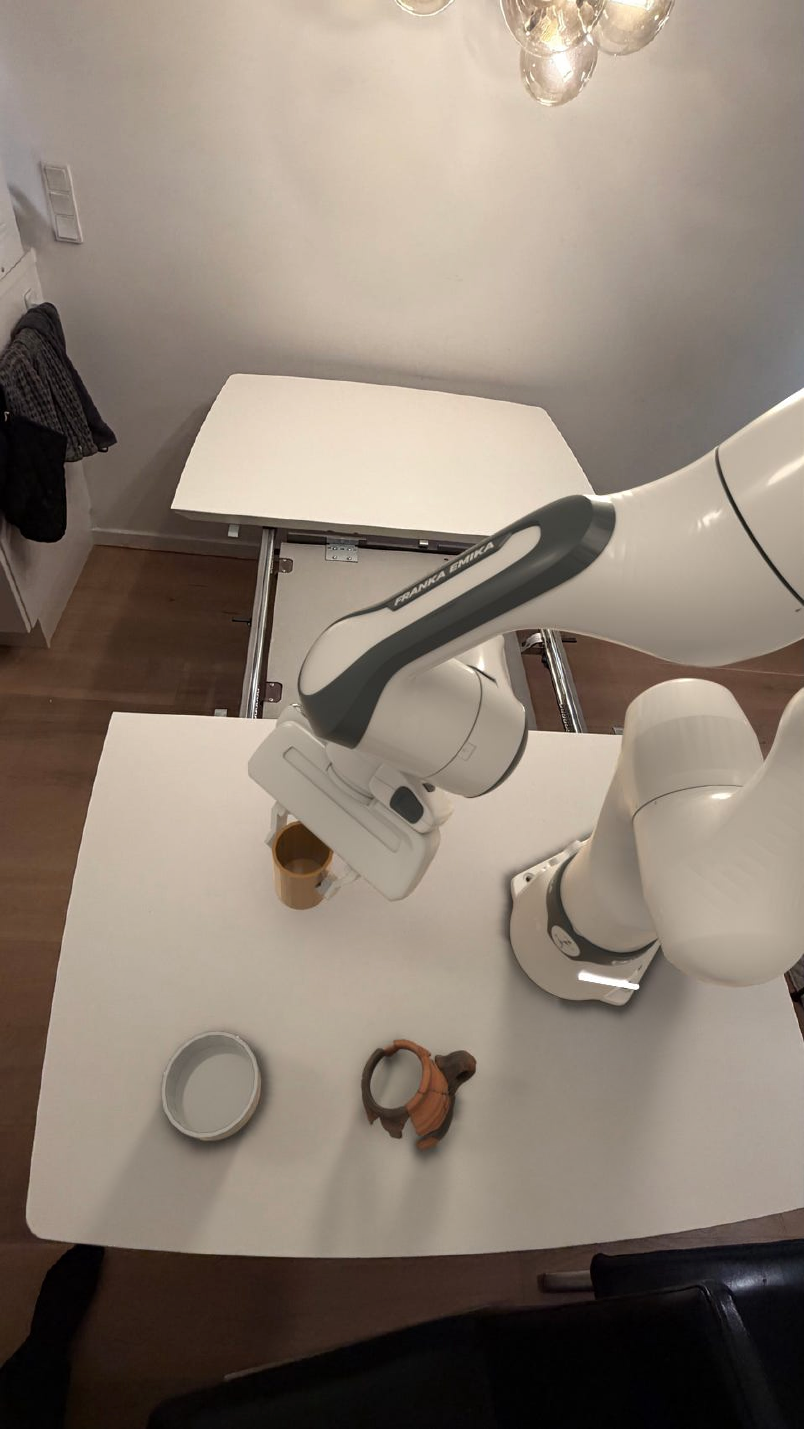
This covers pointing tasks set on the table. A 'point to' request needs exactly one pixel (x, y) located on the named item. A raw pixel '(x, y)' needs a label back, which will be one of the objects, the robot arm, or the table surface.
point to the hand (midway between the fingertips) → (298, 869)
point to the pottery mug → (421, 1092)
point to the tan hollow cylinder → (299, 866)
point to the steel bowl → (211, 1086)
